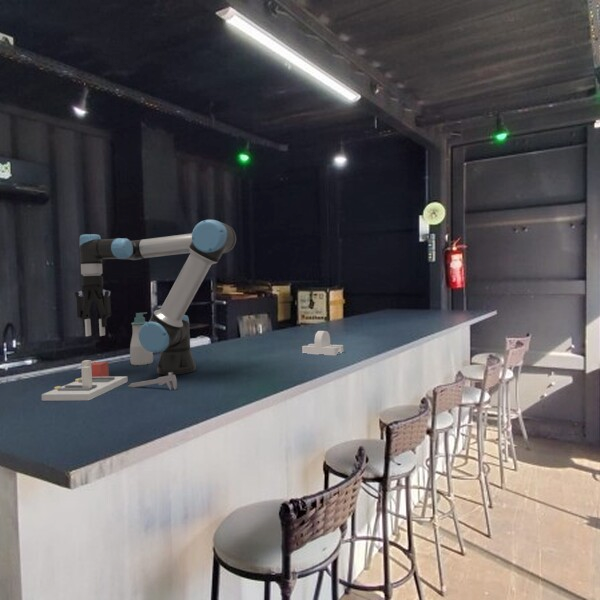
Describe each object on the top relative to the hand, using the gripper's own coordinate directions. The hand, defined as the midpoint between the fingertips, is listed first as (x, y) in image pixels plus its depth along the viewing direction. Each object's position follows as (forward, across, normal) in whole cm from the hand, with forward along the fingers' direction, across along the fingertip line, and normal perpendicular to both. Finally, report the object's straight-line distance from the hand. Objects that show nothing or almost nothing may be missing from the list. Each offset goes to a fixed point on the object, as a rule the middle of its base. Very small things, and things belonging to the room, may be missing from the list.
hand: (95, 335), depth 182 cm
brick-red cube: (+17, 0, 0) cm, 17 cm away
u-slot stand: (+17, -84, -52) cm, 100 cm away
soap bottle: (+17, -4, -30) cm, 35 cm away
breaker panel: (+17, -7, +19) cm, 26 cm away
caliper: (+17, -29, +16) cm, 37 cm away
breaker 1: (+14, -3, +13) cm, 20 cm away
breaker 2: (+14, -10, +25) cm, 31 cm away
